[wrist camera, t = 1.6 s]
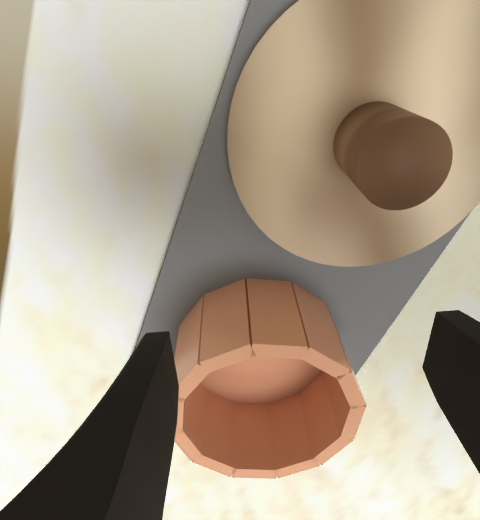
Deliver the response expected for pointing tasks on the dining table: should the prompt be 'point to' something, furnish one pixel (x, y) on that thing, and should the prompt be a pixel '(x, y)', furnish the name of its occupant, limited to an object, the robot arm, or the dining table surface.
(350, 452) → the dining table surface
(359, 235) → the lid
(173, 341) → the mat
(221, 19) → the dining table surface
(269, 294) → the bowl
